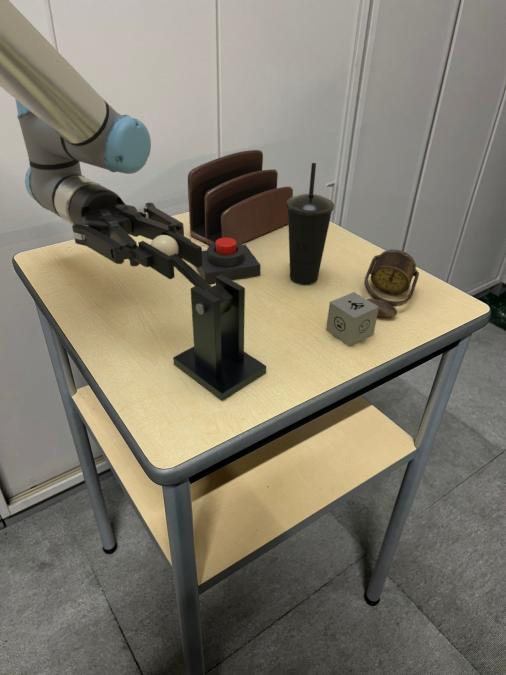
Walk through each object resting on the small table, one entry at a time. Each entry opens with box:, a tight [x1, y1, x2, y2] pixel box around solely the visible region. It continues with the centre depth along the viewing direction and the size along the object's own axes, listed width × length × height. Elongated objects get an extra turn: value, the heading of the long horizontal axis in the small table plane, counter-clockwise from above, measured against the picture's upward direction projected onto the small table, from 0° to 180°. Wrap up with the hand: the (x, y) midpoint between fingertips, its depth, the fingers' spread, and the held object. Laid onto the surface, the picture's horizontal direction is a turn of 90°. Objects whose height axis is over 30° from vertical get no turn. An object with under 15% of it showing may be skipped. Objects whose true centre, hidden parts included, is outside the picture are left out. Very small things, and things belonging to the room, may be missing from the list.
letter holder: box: [187, 149, 294, 246], centre depth 102 cm, size 10×20×14 cm, turn 135°
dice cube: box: [325, 291, 379, 347], centre depth 76 cm, size 5×5×5 cm
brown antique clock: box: [363, 249, 420, 318], centre depth 84 cm, size 7×13×10 cm
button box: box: [195, 242, 261, 285], centre depth 91 cm, size 10×8×4 cm
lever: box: [150, 235, 233, 315], centre depth 66 cm, size 14×4×4 cm, turn 45°
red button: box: [216, 238, 236, 255], centre depth 90 cm, size 4×4×2 cm
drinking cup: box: [286, 162, 335, 286], centre depth 85 cm, size 8×8×20 cm
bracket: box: [172, 275, 267, 401], centre depth 67 cm, size 10×8×13 cm
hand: (185, 263), depth 66 cm, fingers closed on lever, 4 cm apart
